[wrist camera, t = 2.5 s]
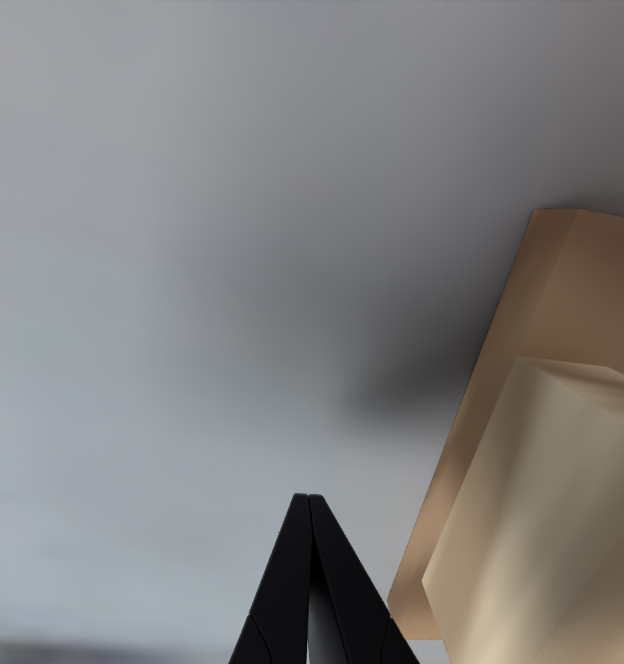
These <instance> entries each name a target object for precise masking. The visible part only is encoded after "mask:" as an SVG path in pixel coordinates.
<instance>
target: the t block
mask: <svg viewBox="0 0 624 664" xmlns="http://www.w3.org/2000/svg"><path fill="white" fill-rule="evenodd" d="M422 584H423V586H424V589H425V592H426V595H427V598H428V601H429V603H430V606H431V609H432V612H433V615H434V618H435V620H436V623H437V626H438V629H439V632H440V634H441V637H442V640H443V643H444V646H445V649H446V651H447V654H448V657H449V660H450V663H451V664H624V375H623V374H621V373H619V372H617V371H615V370H613V369H611V368H609V367H604V366H596V365H588V364H580V363H572V362H564V361H556V360H548V359H540V358H532V357H524V356H516V358H515V361H514V363H513V365H512V368H511V370H510V373H509V375H508V377H507V380H506V382H505V384H504V387H503V389H502V391H501V394H500V396H499V399H498V401H497V403H496V406H495V408H494V410H493V413H492V415H491V417H490V420H489V422H488V425H487V427H486V429H485V432H484V434H483V436H482V439H481V441H480V443H479V446H478V448H477V451H476V453H475V455H474V458H473V460H472V462H471V465H470V467H469V469H468V472H467V474H466V477H465V479H464V481H463V484H462V486H461V488H460V491H459V493H458V495H457V498H456V500H455V503H454V505H453V507H452V510H451V512H450V514H449V517H448V519H447V522H446V524H445V526H444V529H443V531H442V533H441V536H440V538H439V540H438V543H437V545H436V548H435V550H434V552H433V555H432V557H431V559H430V562H429V564H428V566H427V569H426V571H425V574H424V576H423V578H422Z"/></svg>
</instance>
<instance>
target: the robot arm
mask: <svg viewBox="0 0 624 664" xmlns="http://www.w3.org/2000/svg"><path fill="white" fill-rule="evenodd" d="M390 616H391V614H390V612H389V610H388V609H387V607H386V605H385V603H384V602H383V600H382V598H381V596H380V595H379V593H378V591H377V590H376V588H375V586H374V584H373V583H372V581H371V579H370V577H369V576H368V574H367V572H366V570H365V569H364V567H363V565H362V563H361V562H360V560H359V558H358V556H357V555H356V553H355V551H354V549H353V548H352V546H351V544H350V542H349V541H348V539H347V537H346V535H345V534H344V532H343V530H342V528H341V527H340V525H339V523H338V522H337V520H336V518H335V516H334V515H333V513H332V511H331V509H330V508H329V506H328V504H327V502H326V501H325V499H324V497H323V496H322V495H319V494H309V495H307V494H303V493H295V494H294V495H293V498H292V500H291V503H290V506H289V508H288V511H287V513H286V516H285V519H284V521H283V524H282V527H281V529H280V532H279V535H278V537H277V540H276V542H275V545H274V548H273V550H272V553H271V556H270V558H269V561H268V564H267V566H266V569H265V571H264V574H263V577H262V579H261V582H260V585H259V587H258V590H257V592H256V595H255V598H254V600H253V603H252V606H251V608H250V611H249V615H248V616H247V618H246V621H245V624H244V626H243V629H242V632H241V634H240V637H239V639H238V641H237V644H236V646H235V649H234V651H233V654H232V656H231V658H230V661H229V663H228V664H306V661H307V640H308V648H309V660H310V664H420V663H419V661H418V660H417V658H416V656H415V655H414V653H413V651H412V650H411V648H410V646H409V645H408V643H407V641H406V640H405V638H404V636H403V635H402V633H401V631H400V629H399V628H398V626H397V624H396V622H395V621H394V619H393V618H392V617H391V618H390Z"/></svg>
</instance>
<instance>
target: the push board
mask: <svg viewBox="0 0 624 664" xmlns="http://www.w3.org/2000/svg"><path fill="white" fill-rule="evenodd" d="M516 356H524V357H532V358H540V359H548V360H556V361H564V362H572V363H580V364H588V365H596V366H604V367H609V368H611V369H613V370H615V371H617V372H619V373H621V374H623V375H624V217H621V216H616V215H611V214H605V213H600V212H595V211H589V210H584V209H534V211H533V214H532V216H531V219H530V222H529V224H528V227H527V230H526V232H525V235H524V238H523V240H522V243H521V245H520V248H519V251H518V253H517V256H516V259H515V261H514V264H513V267H512V269H511V272H510V275H509V277H508V280H507V283H506V285H505V288H504V291H503V293H502V296H501V299H500V301H499V304H498V307H497V309H496V312H495V315H494V317H493V320H492V322H491V325H490V328H489V330H488V333H487V336H486V338H485V341H484V344H483V346H482V349H481V352H480V354H479V357H478V360H477V362H476V365H475V368H474V370H473V373H472V376H471V378H470V381H469V384H468V386H467V389H466V392H465V394H464V397H463V400H462V402H461V405H460V407H459V410H458V413H457V415H456V418H455V421H454V423H453V426H452V429H451V431H450V434H449V437H448V439H447V442H446V445H445V447H444V450H443V453H442V455H441V458H440V461H439V463H438V466H437V469H436V471H435V474H434V477H433V479H432V482H431V485H430V487H429V490H428V492H427V495H426V498H425V500H424V503H423V506H422V508H421V511H420V514H419V516H418V519H417V522H416V524H415V527H414V530H413V532H412V535H411V538H410V540H409V543H408V546H407V548H406V551H405V554H404V556H403V559H402V562H401V564H400V567H399V569H398V572H397V575H396V577H395V580H394V583H393V585H392V588H391V591H390V593H389V596H388V599H387V602H388V606H389V610H390V614H391V617H392V618H393V619H394V621H395V622H396V624H397V626H398V628H399V629H400V631H401V633H402V635H403V636H404V638H405V639H412V640H442V637H441V634H440V632H439V629H438V626H437V623H436V620H435V618H434V615H433V612H432V609H431V606H430V603H429V601H428V598H427V595H426V592H425V589H424V586H423V584H422V578H423V576H424V574H425V571H426V569H427V566H428V564H429V562H430V559H431V557H432V555H433V552H434V550H435V548H436V545H437V543H438V540H439V538H440V536H441V533H442V531H443V529H444V526H445V524H446V522H447V519H448V517H449V514H450V512H451V510H452V507H453V505H454V503H455V500H456V498H457V495H458V493H459V491H460V488H461V486H462V484H463V481H464V479H465V477H466V474H467V472H468V469H469V467H470V465H471V462H472V460H473V458H474V455H475V453H476V451H477V448H478V446H479V443H480V441H481V439H482V436H483V434H484V432H485V429H486V427H487V425H488V422H489V420H490V417H491V415H492V413H493V410H494V408H495V406H496V403H497V401H498V399H499V396H500V394H501V391H502V389H503V387H504V384H505V382H506V380H507V377H508V375H509V373H510V370H511V368H512V365H513V363H514V361H515V358H516Z"/></svg>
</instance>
